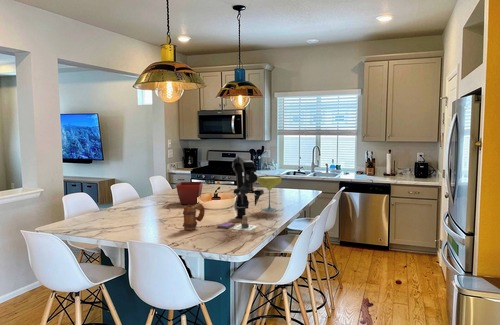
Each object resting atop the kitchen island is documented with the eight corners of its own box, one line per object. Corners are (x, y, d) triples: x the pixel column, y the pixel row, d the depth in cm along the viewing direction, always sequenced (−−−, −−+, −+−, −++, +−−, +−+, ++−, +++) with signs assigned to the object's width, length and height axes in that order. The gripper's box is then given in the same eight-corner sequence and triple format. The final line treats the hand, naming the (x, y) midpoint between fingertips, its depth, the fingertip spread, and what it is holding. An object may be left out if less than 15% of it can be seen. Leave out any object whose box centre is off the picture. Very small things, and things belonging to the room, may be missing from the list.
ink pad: (225, 224, 235) (225, 222, 235) (234, 225, 232) (234, 223, 232) (217, 227, 226) (217, 225, 225) (227, 228, 223) (227, 226, 223)
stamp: (243, 226, 228) (243, 214, 228) (249, 226, 227) (249, 215, 226) (240, 227, 224) (240, 216, 224) (246, 228, 223) (246, 217, 222)
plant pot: (200, 205, 297) (199, 184, 296) (176, 205, 297) (175, 185, 296) (203, 201, 316) (203, 181, 315) (181, 201, 316) (180, 182, 315)
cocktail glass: (268, 213, 264) (268, 179, 262) (252, 209, 278) (252, 176, 276) (286, 210, 275) (286, 176, 274) (270, 206, 289) (269, 174, 287)
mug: (185, 232, 217) (185, 206, 216) (179, 229, 223) (179, 204, 222) (207, 228, 225) (207, 203, 224) (201, 225, 232) (200, 201, 231)
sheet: (240, 224, 233) (240, 223, 233) (258, 226, 229) (258, 225, 229) (232, 228, 223) (232, 228, 223) (250, 230, 218) (250, 230, 218)
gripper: (229, 181, 230) (229, 206, 231) (257, 182, 222) (257, 208, 223) (237, 179, 240) (237, 203, 241) (263, 180, 232) (264, 205, 234)
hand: (248, 205), depth 235 cm, fingers open, 9 cm apart
